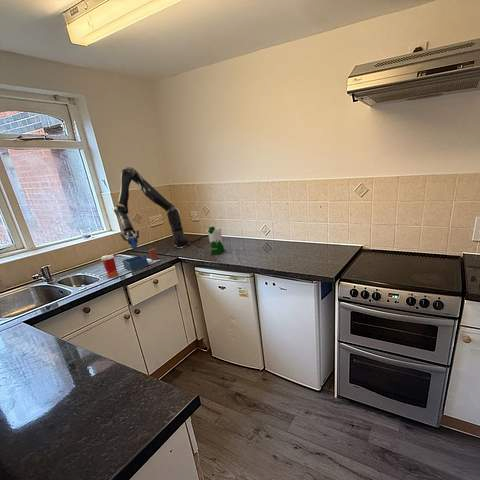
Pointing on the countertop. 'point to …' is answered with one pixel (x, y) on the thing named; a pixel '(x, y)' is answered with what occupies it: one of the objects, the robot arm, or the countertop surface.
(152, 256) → the terracotta skittle
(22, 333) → the countertop surface
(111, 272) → the beer glass
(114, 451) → the countertop surface
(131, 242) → the blue skittle
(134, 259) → the blue bin
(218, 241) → the milk carton
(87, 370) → the countertop surface
